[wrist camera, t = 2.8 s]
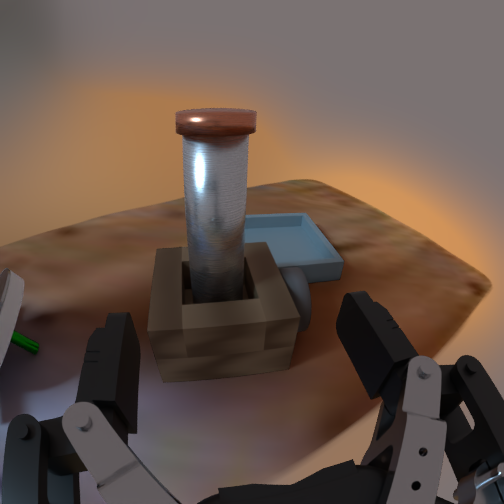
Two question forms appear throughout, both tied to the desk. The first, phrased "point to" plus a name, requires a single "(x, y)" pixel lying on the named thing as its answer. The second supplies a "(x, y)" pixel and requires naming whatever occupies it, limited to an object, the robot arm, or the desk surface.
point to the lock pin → (215, 198)
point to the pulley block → (226, 319)
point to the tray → (296, 244)
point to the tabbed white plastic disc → (12, 314)
